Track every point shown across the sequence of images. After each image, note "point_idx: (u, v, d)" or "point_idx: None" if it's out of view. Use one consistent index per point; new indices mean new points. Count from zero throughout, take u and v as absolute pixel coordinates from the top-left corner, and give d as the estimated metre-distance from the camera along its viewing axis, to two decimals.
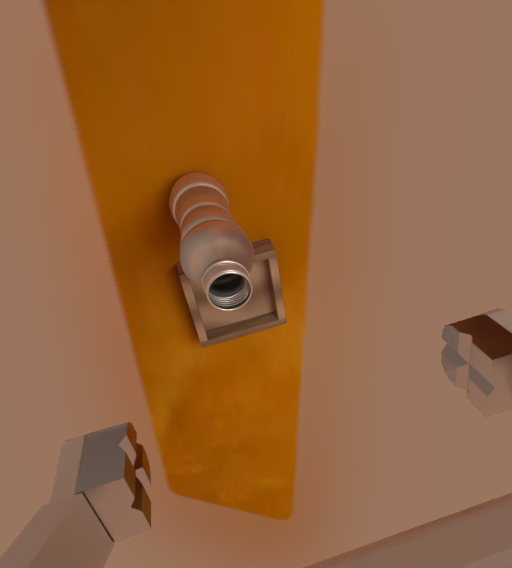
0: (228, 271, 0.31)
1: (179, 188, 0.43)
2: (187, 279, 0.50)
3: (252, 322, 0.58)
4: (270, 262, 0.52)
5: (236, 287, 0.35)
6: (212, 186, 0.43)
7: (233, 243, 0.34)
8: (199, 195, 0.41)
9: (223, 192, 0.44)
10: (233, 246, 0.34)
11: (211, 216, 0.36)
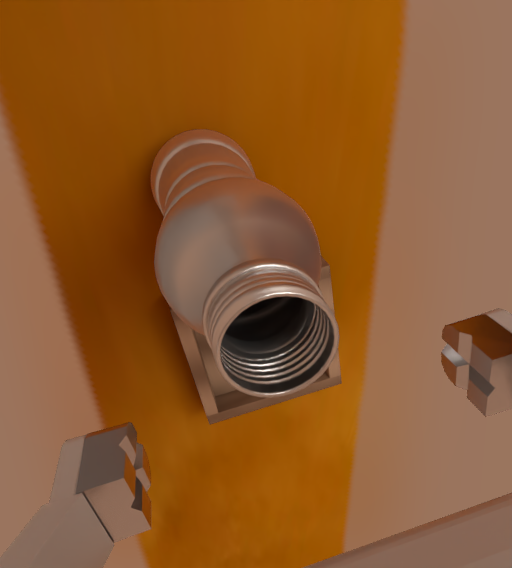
0: (276, 291, 0.11)
1: (167, 151, 0.24)
2: None
3: None
4: (320, 286, 0.32)
5: (287, 333, 0.14)
6: (227, 145, 0.24)
7: (281, 225, 0.14)
8: (202, 154, 0.21)
9: (246, 159, 0.25)
10: (282, 231, 0.14)
11: (227, 174, 0.16)
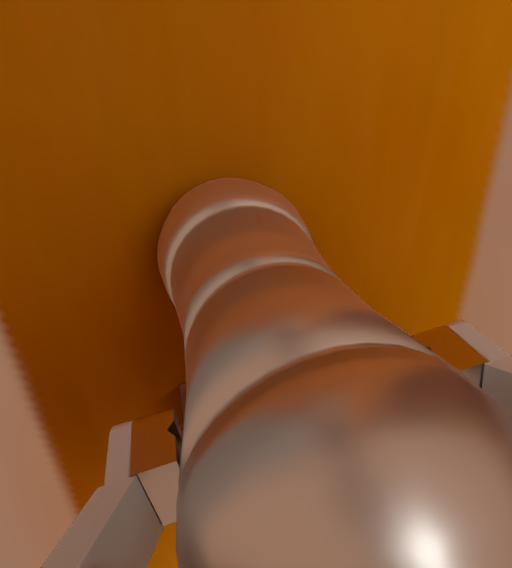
0: None
1: (184, 217, 0.15)
2: None
3: None
4: None
5: None
6: (278, 208, 0.15)
7: None
8: (246, 233, 0.13)
9: (304, 226, 0.16)
10: None
11: (329, 325, 0.08)
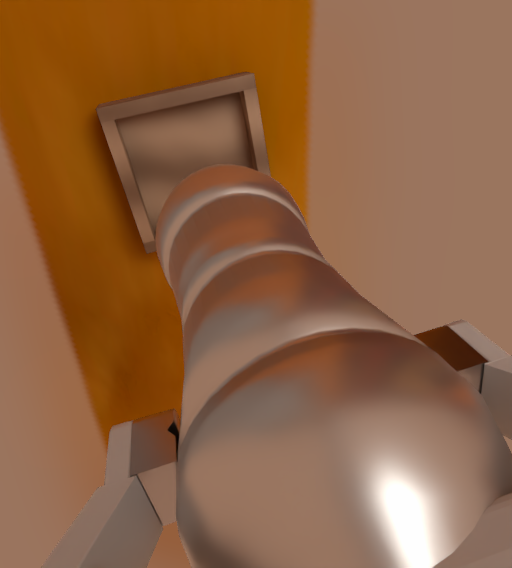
0: None
1: (181, 205, 0.16)
2: (111, 117, 0.31)
3: None
4: (246, 98, 0.33)
5: None
6: (273, 195, 0.16)
7: (482, 492, 0.06)
8: (240, 221, 0.13)
9: (298, 212, 0.17)
10: None
11: (316, 312, 0.08)
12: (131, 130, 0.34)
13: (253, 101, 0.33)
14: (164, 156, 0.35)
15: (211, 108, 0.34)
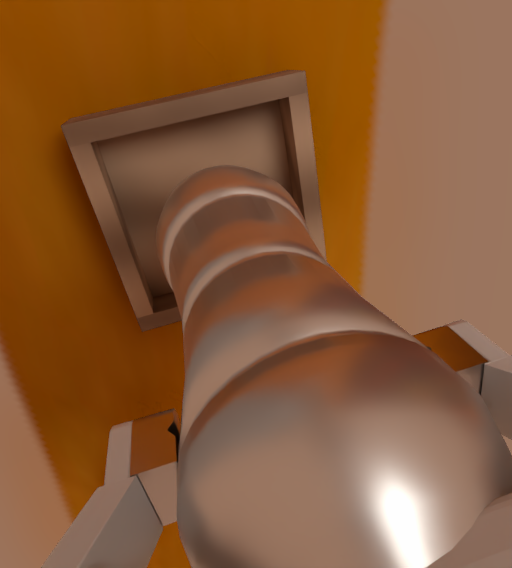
0: None
1: (182, 206, 0.16)
2: (85, 139, 0.20)
3: None
4: (293, 109, 0.22)
5: None
6: (272, 196, 0.16)
7: (482, 494, 0.06)
8: (241, 222, 0.13)
9: (298, 213, 0.17)
10: None
11: (316, 313, 0.08)
12: (119, 156, 0.23)
13: (302, 113, 0.22)
14: (168, 193, 0.24)
15: (237, 123, 0.23)
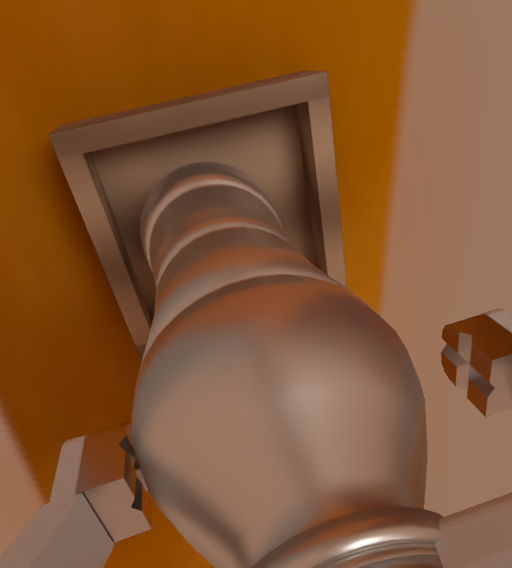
0: None
1: (161, 196, 0.17)
2: (76, 150, 0.18)
3: None
4: (312, 114, 0.19)
5: None
6: (244, 186, 0.17)
7: (372, 390, 0.07)
8: (210, 205, 0.15)
9: (269, 202, 0.18)
10: (377, 404, 0.07)
11: (255, 264, 0.09)
12: (115, 168, 0.20)
13: (323, 119, 0.19)
14: None
15: (248, 130, 0.21)
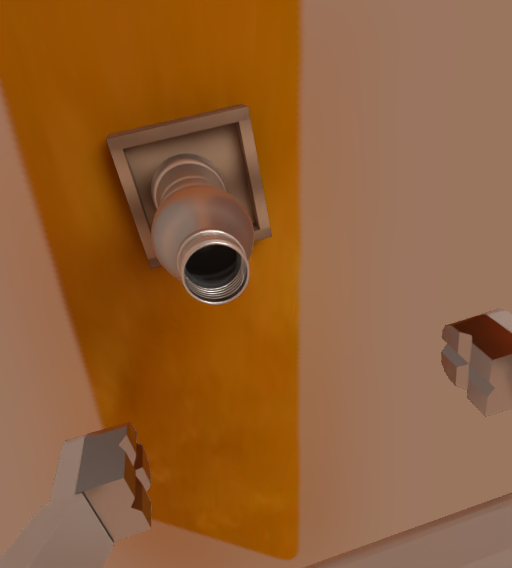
0: (211, 241, 0.21)
1: (162, 169, 0.34)
2: (119, 147, 0.35)
3: None
4: (241, 128, 0.36)
5: (229, 274, 0.24)
6: (203, 164, 0.34)
7: (222, 211, 0.24)
8: (184, 171, 0.32)
9: (217, 173, 0.35)
10: (223, 214, 0.24)
11: (194, 183, 0.27)
12: (138, 157, 0.37)
13: (247, 131, 0.36)
14: None
15: (209, 137, 0.38)
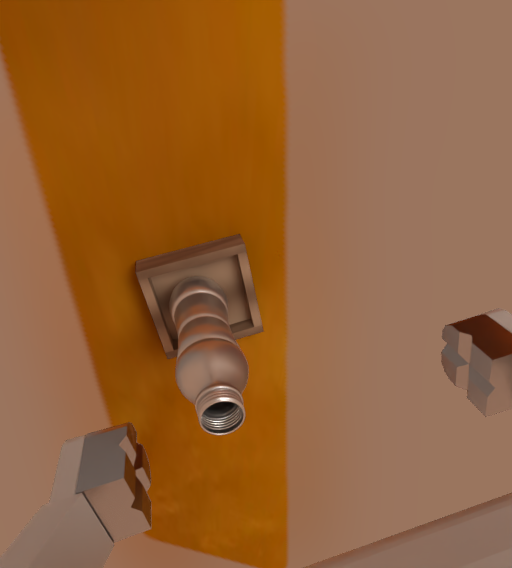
0: (219, 400, 0.32)
1: (178, 295, 0.45)
2: (145, 277, 0.45)
3: None
4: (239, 258, 0.47)
5: (230, 407, 0.35)
6: (210, 292, 0.45)
7: (226, 364, 0.35)
8: (196, 305, 0.42)
9: (221, 296, 0.46)
10: (227, 367, 0.34)
11: (206, 334, 0.37)
12: (158, 278, 0.48)
13: (244, 260, 0.47)
14: None
15: (214, 260, 0.48)
